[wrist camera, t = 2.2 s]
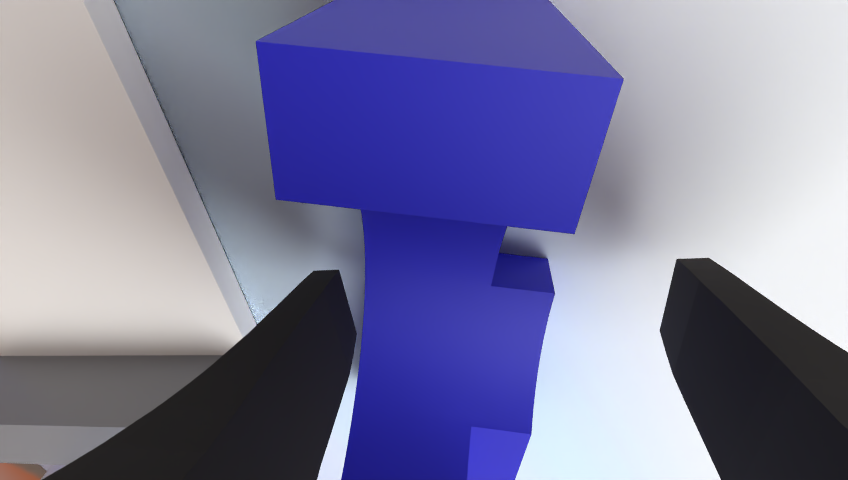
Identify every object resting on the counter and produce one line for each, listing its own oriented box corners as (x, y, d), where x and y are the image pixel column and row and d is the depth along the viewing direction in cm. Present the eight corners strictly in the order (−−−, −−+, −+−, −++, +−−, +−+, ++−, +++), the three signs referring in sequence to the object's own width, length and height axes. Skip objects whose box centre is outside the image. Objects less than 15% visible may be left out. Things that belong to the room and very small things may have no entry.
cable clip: (506, 398, 15) (519, 620, 10) (373, 381, 16) (325, 592, 11) (620, -2, 9) (816, 98, 4) (381, -25, 9) (256, 40, 4)
